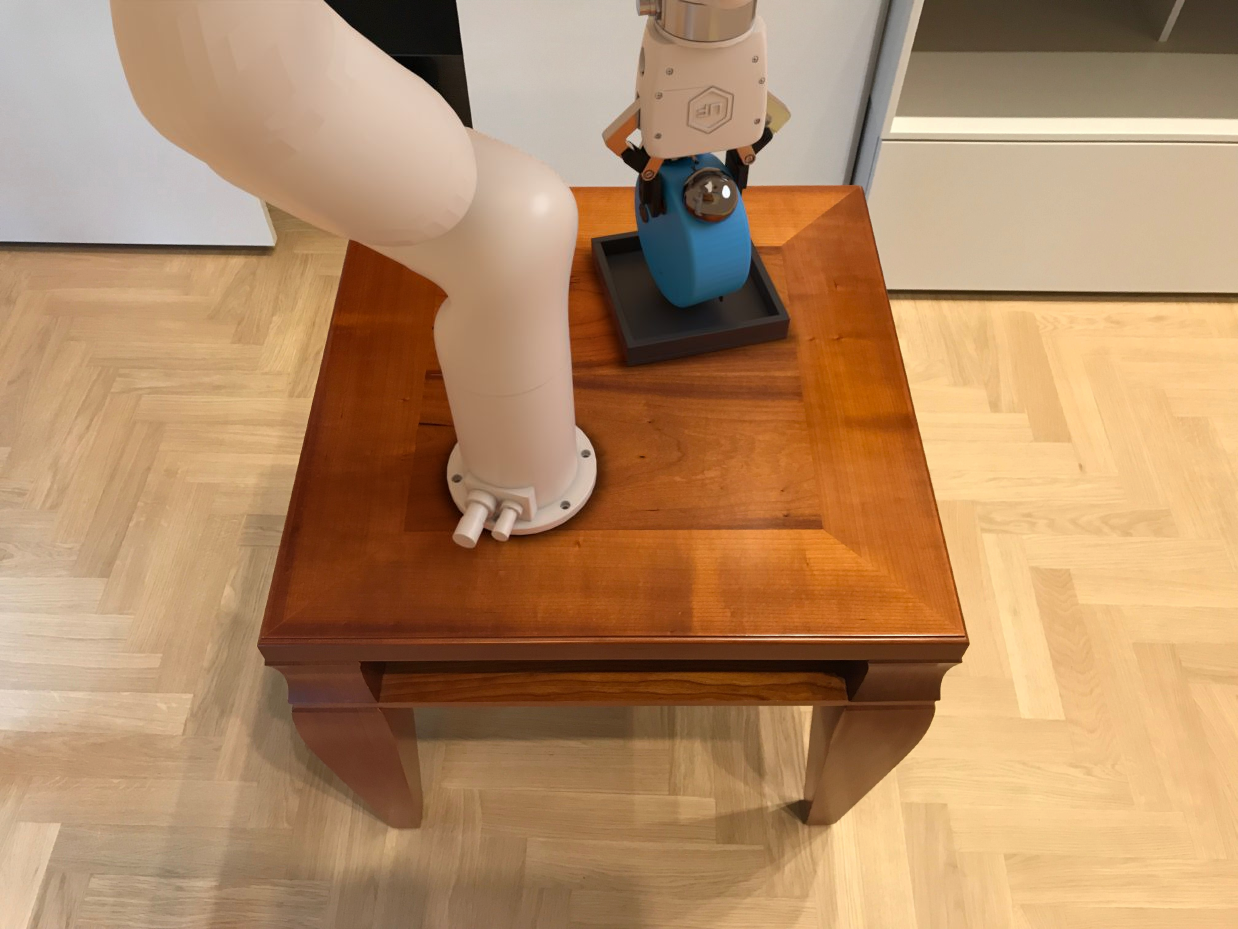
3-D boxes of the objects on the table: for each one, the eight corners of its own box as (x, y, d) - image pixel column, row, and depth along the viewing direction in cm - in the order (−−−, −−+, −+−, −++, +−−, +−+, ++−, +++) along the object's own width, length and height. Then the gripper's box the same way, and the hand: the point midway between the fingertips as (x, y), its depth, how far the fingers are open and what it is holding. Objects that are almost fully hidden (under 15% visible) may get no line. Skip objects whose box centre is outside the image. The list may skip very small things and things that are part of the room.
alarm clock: (745, 320, 89) (763, 188, 77) (686, 338, 88) (695, 207, 76) (686, 236, 97) (694, 103, 84) (630, 252, 95) (630, 120, 83)
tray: (786, 338, 90) (790, 318, 88) (627, 367, 88) (627, 347, 86) (736, 233, 99) (739, 213, 97) (591, 257, 97) (590, 237, 95)
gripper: (602, 45, 67) (606, 244, 81) (834, 14, 69) (798, 212, 83) (580, -7, 71) (587, 190, 85) (799, -35, 73) (770, 162, 88)
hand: (692, 200), depth 84 cm, fingers closed on alarm clock, 6 cm apart
